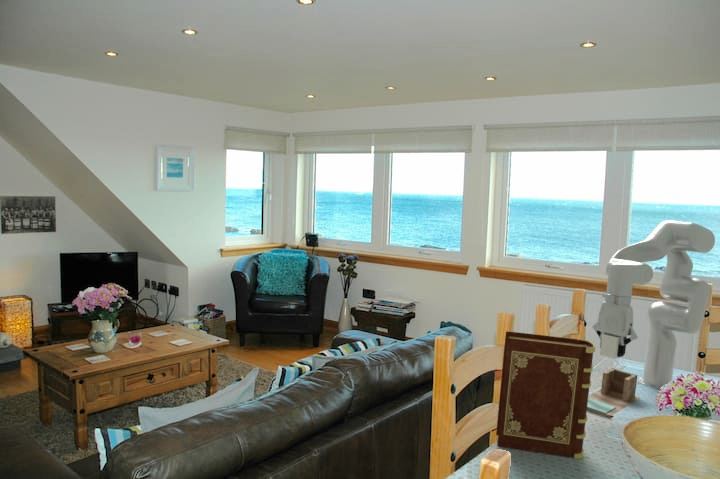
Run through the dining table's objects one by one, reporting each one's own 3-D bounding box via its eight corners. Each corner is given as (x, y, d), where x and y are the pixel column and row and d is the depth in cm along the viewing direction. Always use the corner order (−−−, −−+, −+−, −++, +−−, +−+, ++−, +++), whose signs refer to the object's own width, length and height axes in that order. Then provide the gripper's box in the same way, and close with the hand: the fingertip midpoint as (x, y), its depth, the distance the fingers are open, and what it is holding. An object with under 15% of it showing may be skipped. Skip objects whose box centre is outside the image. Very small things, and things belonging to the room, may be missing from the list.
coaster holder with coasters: (604, 389, 198) (607, 366, 197) (640, 400, 189) (642, 376, 188) (573, 405, 180) (575, 380, 180) (610, 418, 172) (613, 392, 171)
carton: (608, 351, 186) (610, 331, 186) (623, 356, 182) (625, 335, 182) (599, 354, 182) (602, 333, 182) (614, 358, 179) (617, 337, 178)
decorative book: (579, 446, 151) (591, 340, 148) (585, 460, 143) (598, 348, 140) (496, 434, 155) (505, 330, 152) (497, 447, 148) (507, 338, 145)
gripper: (587, 295, 185) (582, 348, 187) (639, 306, 172) (632, 363, 174) (599, 294, 190) (593, 345, 191) (650, 304, 176) (643, 359, 178)
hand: (612, 353), depth 182 cm, fingers closed on carton, 5 cm apart
